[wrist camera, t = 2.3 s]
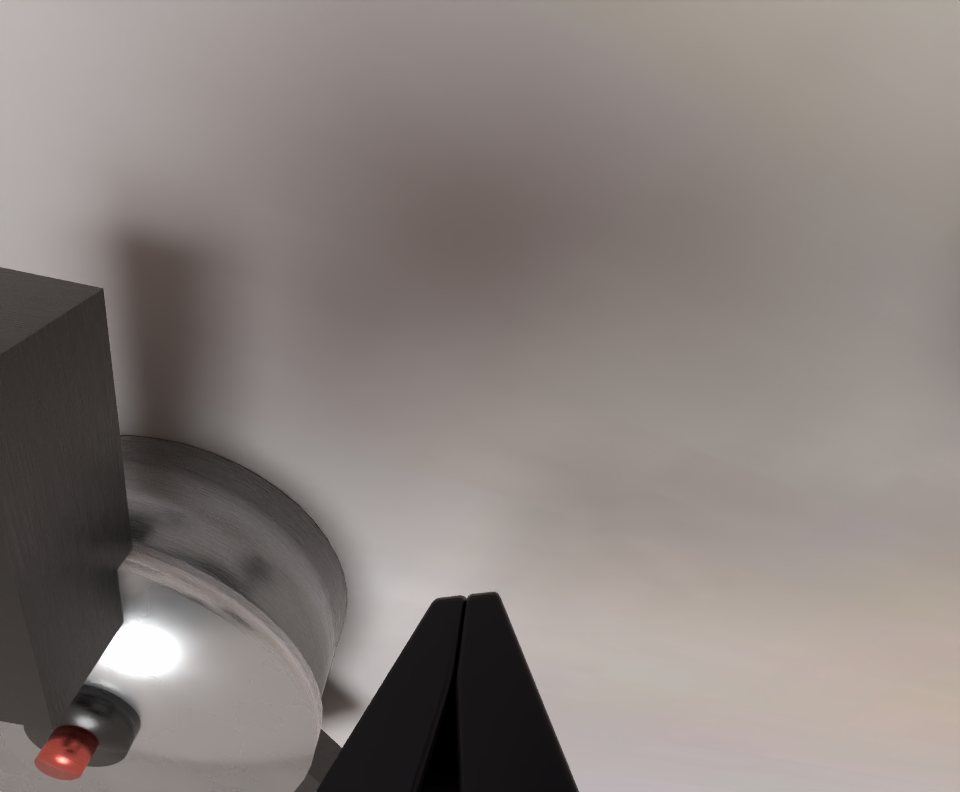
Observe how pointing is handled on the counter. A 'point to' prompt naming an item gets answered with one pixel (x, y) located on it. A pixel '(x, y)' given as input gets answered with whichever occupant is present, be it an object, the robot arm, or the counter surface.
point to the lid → (117, 597)
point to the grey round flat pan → (242, 548)
